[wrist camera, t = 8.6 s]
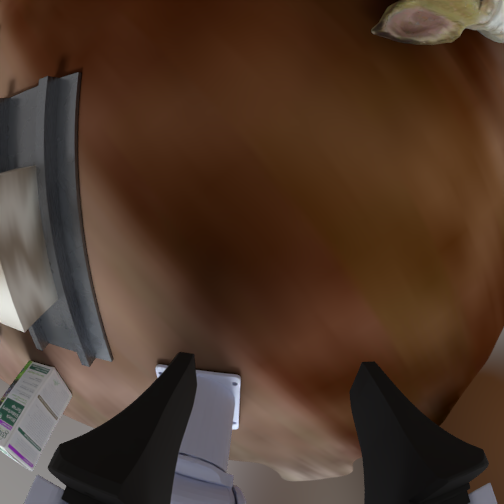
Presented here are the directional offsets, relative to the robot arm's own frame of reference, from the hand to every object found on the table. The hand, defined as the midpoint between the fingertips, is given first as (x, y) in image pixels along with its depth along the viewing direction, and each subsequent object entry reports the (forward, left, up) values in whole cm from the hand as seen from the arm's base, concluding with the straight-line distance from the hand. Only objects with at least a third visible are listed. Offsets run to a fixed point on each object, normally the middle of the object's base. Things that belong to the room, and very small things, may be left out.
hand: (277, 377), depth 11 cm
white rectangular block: (+2, +21, -9) cm, 23 cm away
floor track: (+2, +21, -9) cm, 23 cm away
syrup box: (-19, +28, -10) cm, 35 cm away
